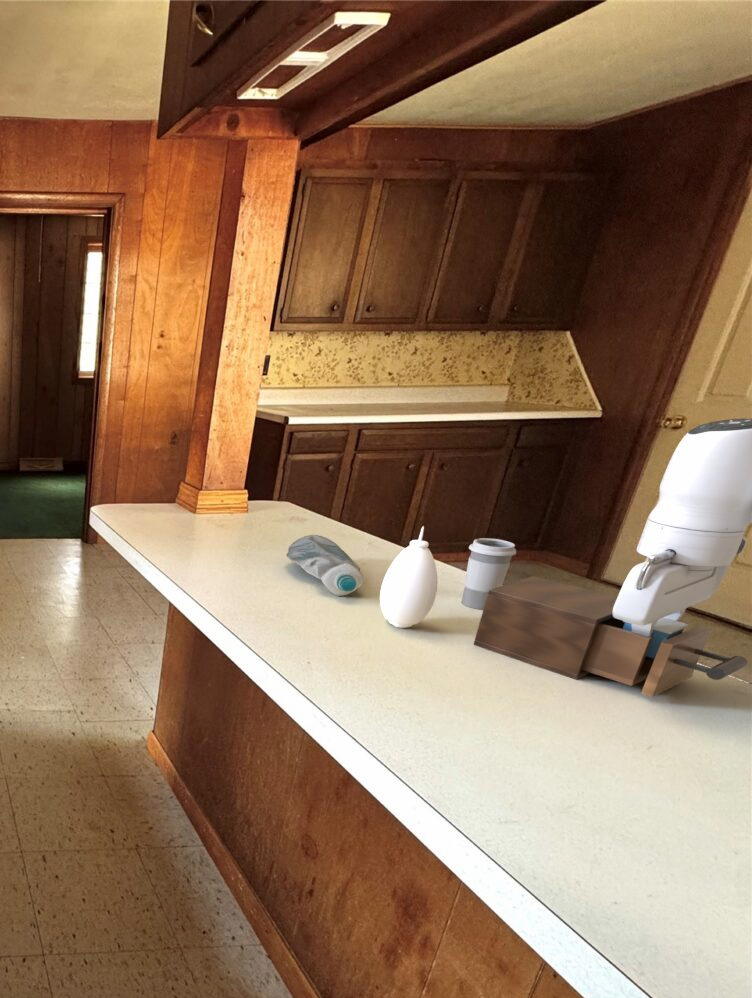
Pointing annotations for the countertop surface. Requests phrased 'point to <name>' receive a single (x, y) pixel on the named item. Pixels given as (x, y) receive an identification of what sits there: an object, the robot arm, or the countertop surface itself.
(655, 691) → the drawer
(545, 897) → the countertop surface
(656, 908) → the countertop surface
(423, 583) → the white air blower bulb
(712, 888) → the countertop surface
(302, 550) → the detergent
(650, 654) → the plastic tub
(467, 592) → the cup
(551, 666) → the cabinet
